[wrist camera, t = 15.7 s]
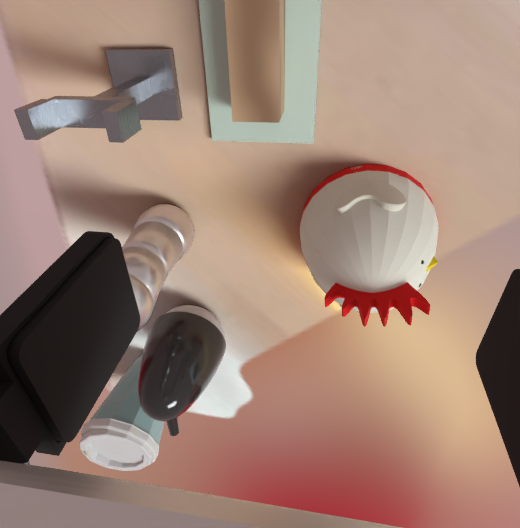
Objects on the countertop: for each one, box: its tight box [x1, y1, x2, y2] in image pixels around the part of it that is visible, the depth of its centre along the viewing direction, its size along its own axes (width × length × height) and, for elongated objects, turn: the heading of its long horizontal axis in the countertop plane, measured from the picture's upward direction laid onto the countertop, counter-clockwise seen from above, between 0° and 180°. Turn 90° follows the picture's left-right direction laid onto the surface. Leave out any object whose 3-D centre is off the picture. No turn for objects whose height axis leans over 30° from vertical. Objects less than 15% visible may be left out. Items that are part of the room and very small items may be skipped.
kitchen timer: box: [300, 164, 439, 326], centre depth 36 cm, size 14×14×15 cm
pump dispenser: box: [138, 305, 226, 436], centre depth 49 cm, size 10×10×15 cm
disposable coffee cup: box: [80, 355, 164, 471], centre depth 57 cm, size 11×11×15 cm
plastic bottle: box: [122, 204, 194, 331], centre depth 38 cm, size 6×7×20 cm
